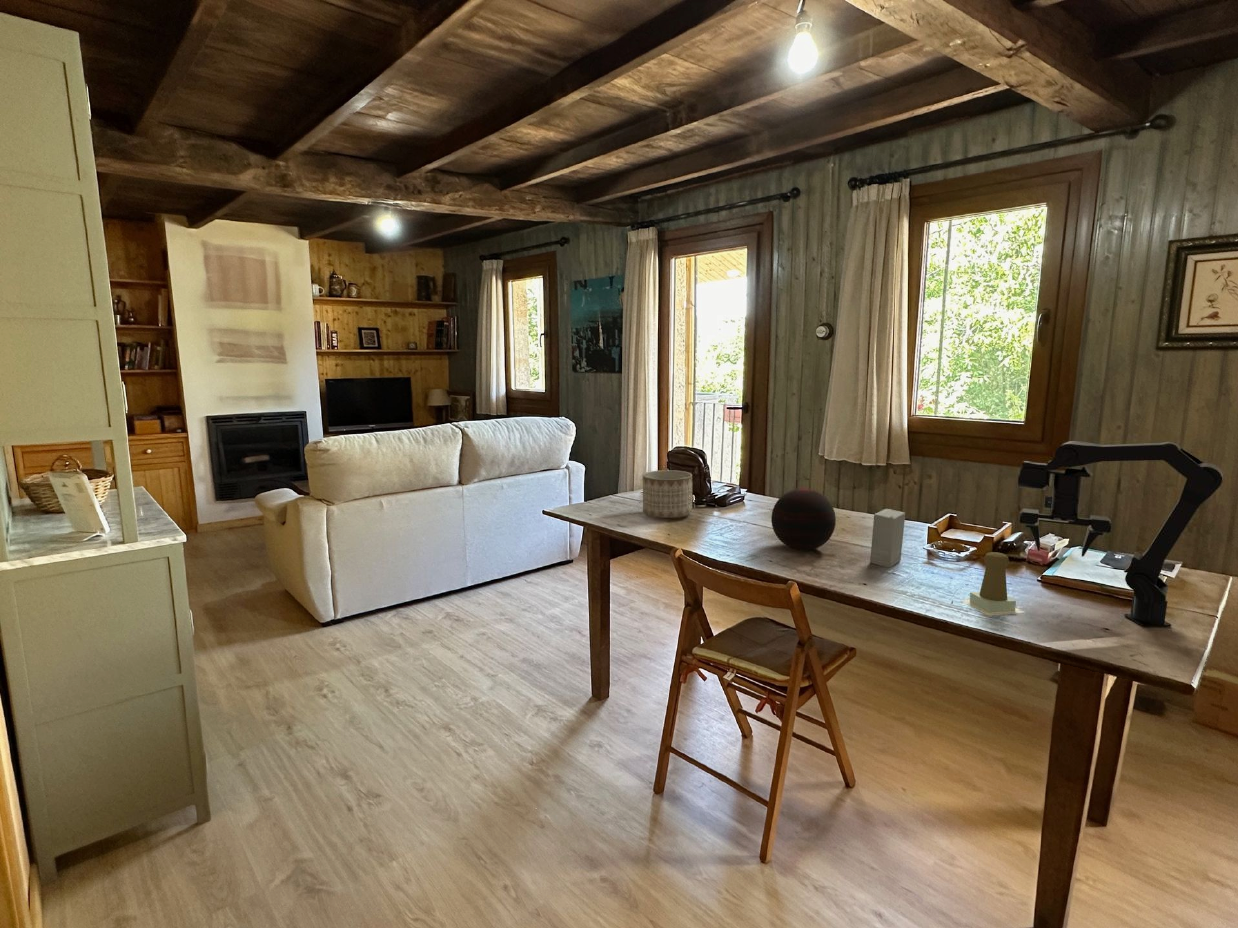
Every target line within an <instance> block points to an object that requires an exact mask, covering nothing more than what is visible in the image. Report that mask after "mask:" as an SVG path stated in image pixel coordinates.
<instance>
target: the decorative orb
mask: <svg viewBox="0 0 1238 928" xmlns="http://www.w3.org/2000/svg"><path fill="white" fill-rule="evenodd" d="M833 507H834V506H833V505H832V503H831V502H830V501H829V499H828V498H827V497H826V496H825V495H823V494H822V493H820V492H818V491H816V490H814V489H811V488H795V489H792V490H789V491H788V492H786V493H784V494H782V495H781V496H780V497H779V499H778V500H777V501H776V503H775V504H774V506H773V508H772V512H771V516H770V517H771V526H772V529H773V532H774V534H775V536H776V537H777V539H778V540H779V541H780V542H781V543H782V544H783V545H785V546H786V547H788V548H791V549H793V550H796V551H802V552H803V551H805V552H806V551H807V552H808V551H813V550H816V549H819V548H820V547H822V546H824V544H826V543H827V542H828V541H829V540H830V539H831V537H832V536H833V533H834V531H835V528H836V522H837V521H836V520H837V519H836V517H837V516H836V513H835V509H834V508H833Z"/></svg>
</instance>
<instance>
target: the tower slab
mask: <svg viewBox="0 0 1238 928" xmlns="http://www.w3.org/2000/svg"><path fill="white" fill-rule="evenodd" d="M960 601H961V602H963V603H965V604H966V605H967V606H968V607H969V606H970V607H972V608H973V609H975V610H977V611H978V612H979V613H982V614H983V615H985V616H1001V615H1002V616H1003V615H1014V614H1025V613H1026V612H1025V611H1023V610H1022V609H1019V608H1017V607H1015V611H1003V612H990V613H988V612H987V611H985V610H983V609H981V608H980V607H978V606H976V605H974V604H973V603H971V602H970V598H968V599H960Z"/></svg>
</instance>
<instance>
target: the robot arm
mask: <svg viewBox="0 0 1238 928" xmlns="http://www.w3.org/2000/svg"><path fill="white" fill-rule="evenodd" d="M1135 461H1136V462H1137V461H1138V462H1139V461H1140V462H1141V461H1144V462H1145V461H1164V462H1165V463H1167V464H1168V465H1169V466H1170V467H1172V468H1173V469H1174V470H1175V471H1176V472H1177V473H1178V474H1180V475H1181V476H1183V477H1184V478H1186V481H1185V483H1184V486H1183V489H1182V491H1181V494H1180V497H1179V499H1178V500H1177V503H1176V504H1175V506H1174V507H1173V509H1172V510H1171V512H1170V514H1169V515H1168V517H1167V518H1166V520H1165V521H1164V523H1163V524H1162V526H1161V528H1160V529H1159V531H1158V532H1157V535H1155V538H1153V541H1152V542H1151V544H1150V545H1149V547H1148V548H1147V549H1146V550H1145V552H1143V553H1142V554H1141V553H1139V552H1138V551H1135V552H1134V554H1133V556H1132V558H1131V561H1130V562H1129V563H1127V564H1126V566H1125V568H1124V570H1123V572H1124V573H1126V574H1125V578H1124V581H1125V583H1126V585H1127V586H1128V587H1129V588H1130V589H1131V590H1132V591H1133V595H1132V599H1131V607H1130V613H1124V617H1125V618H1128V619H1129V620H1131V621H1133V622H1135V623H1137V624H1138V625H1140V626H1142V627H1156V628H1157V627H1172V623H1170V622H1169V621H1166V616H1167V615H1166V614H1167V608H1168V600H1167V594H1168V591H1169V588H1170V587H1169V584H1167V583H1166V582H1165V581H1164V580H1163V579H1162V578H1161V577H1160V574H1161V572H1162V569H1163V566H1164V563H1165V561H1166V558H1167V557H1168V556H1169V554H1170V553H1171V551H1172V549H1173V547H1174V546H1175V544H1176V543H1177V542H1178V540H1179V538H1180V537H1181V536H1182V534H1183V532H1184V531H1185V529H1186V528H1187V526H1188V524H1189V523H1190V521H1191V520H1192V518H1193V516H1194V515H1195V514H1196V512H1197V510H1198V509H1199V508H1200V507H1201V506H1202V505H1203V504H1204V503H1205V502H1206V501H1208V499H1209V498H1210V497H1212V495H1214V493H1216V492H1217V490H1218V489H1220V487H1221V486H1222V483H1223V480H1224V473H1223V471H1222V470H1221V469H1222V468H1220V467H1219V466H1217V465H1216V464H1214V463H1211V462H1204V461H1203V460H1201V459H1199V458H1198V457H1197V456H1195V455H1193V454H1192V453H1190V452H1188V451H1187V450H1185V449H1184V448H1182V447H1181V446H1180V445H1179V444H1178V443H1176V442H1174V441H1165V442H1153V443H1151V442H1149V443H1148V442H1147V443H1125V444H1124V443H1120V444H1099V443H1092V442H1087V441H1086V442H1085V441H1079V440H1078V441H1077V440H1071V441H1066V442H1064V443H1062V444H1061V445H1059V446H1058V448H1057V449H1056V451H1055V453H1054V458H1052V459H1051V460H1048V462H1047V463H1042V462H1033V461H1030V460H1029V461H1027V460H1024V461H1022V464H1021V467H1020V471H1019V474H1018V476H1017V477H1018V478H1017V487H1018V488H1023V489H1024V488H1025V489H1031V490H1041V491H1045V490H1046V488H1047V487H1051V486H1052V484H1053V486H1052V487H1053V488H1052V496H1049V495H1044V502H1043V509H1044V510H1050V512H1049V513H1050V514H1046V513H1039V511H1040V510H1039V509H1032V508H1024V507H1023V508H1022V509H1020V512H1019V524H1024V527H1026V528H1029V530H1030V532H1031V533H1032V535H1033V538H1034V539H1033V540H1034V541H1035V546H1036V549H1037V551H1038V552H1040V551H1041V539H1040V538H1041V536H1040V522H1046V523H1055V524H1063V525H1064V524H1065V525H1072V526H1073V525H1075V526H1082V527H1087V528H1086V533H1085V538H1084V540H1083V545H1082V548H1081V557H1085V555H1086V553H1087V551H1088V550H1089V549H1090V547H1091V545H1092V544H1093V542H1094V541H1095V540H1096V539H1097V538H1098V536H1104V533H1107V534H1108V533H1109V534H1110V533H1111V531H1112V521H1111V519H1110V518H1109V516H1105V515H1104V516H1103V515H1094V514H1091V515H1090V517H1089V518H1085V517H1079V515H1080V514H1079V513H1080V502H1081V494H1082V493H1081V492H1082V485H1083V484H1082V483H1083V478H1090V477H1092V476H1093V475H1094V473H1093V472H1092V471H1091V470H1090V469H1088V467H1087V465H1090V464H1096V463H1099V462H1101V463H1103V462H1135ZM1081 466H1083V467H1082V468H1074V467H1081ZM1062 467H1065V469H1064V470H1058V469H1061V468H1062ZM1053 476H1054V479H1053Z"/></svg>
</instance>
